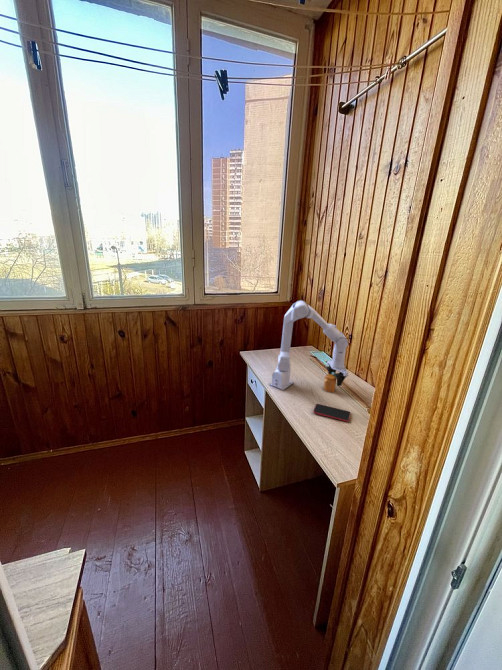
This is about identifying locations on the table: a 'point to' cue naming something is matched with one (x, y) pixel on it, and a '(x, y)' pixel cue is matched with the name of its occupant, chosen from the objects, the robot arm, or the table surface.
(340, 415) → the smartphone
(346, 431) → the table surface
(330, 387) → the honey jar
